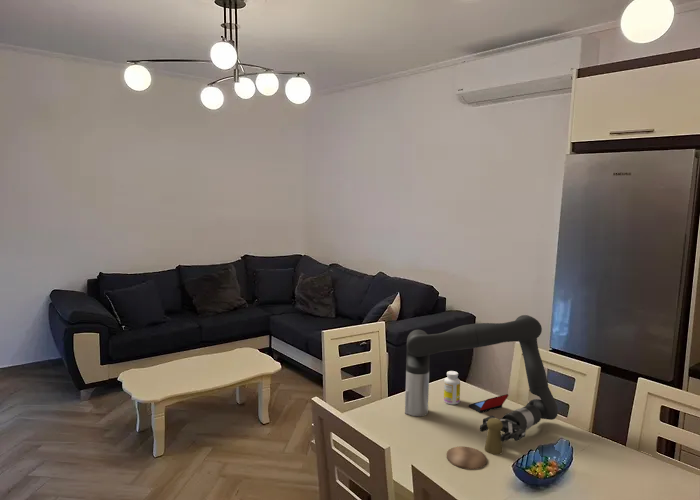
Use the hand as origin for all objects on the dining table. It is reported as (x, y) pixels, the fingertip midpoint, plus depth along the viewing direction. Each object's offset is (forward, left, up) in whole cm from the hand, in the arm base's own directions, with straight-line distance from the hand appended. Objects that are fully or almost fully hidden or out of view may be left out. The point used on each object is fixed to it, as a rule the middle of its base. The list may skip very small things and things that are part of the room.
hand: (491, 433), depth 169 cm
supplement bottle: (-10, +40, -7) cm, 42 cm away
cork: (+1, +1, -7) cm, 7 cm away
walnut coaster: (-9, -6, -7) cm, 12 cm away
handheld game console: (+5, +36, -7) cm, 37 cm away
